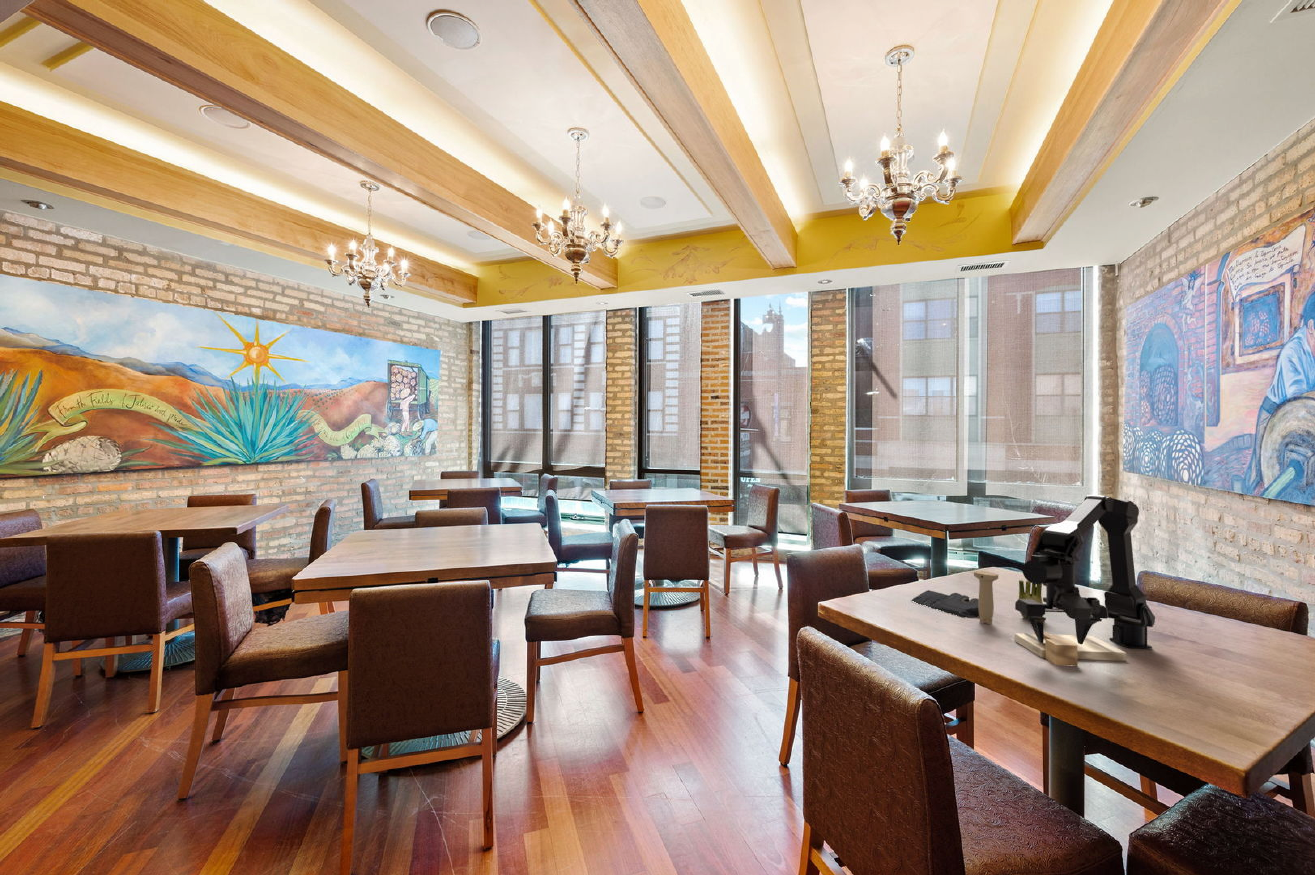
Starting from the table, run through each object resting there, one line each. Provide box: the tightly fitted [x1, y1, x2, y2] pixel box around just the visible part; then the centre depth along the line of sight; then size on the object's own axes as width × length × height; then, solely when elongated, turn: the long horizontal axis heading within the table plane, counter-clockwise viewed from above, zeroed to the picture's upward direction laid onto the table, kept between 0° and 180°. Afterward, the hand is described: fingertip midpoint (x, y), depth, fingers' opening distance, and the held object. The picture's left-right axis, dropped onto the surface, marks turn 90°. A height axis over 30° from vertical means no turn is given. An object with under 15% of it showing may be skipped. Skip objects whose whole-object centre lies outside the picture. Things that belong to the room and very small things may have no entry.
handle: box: [973, 570, 999, 625], centre depth 165 cm, size 5×6×15 cm
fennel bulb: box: [1018, 579, 1044, 619], centre depth 168 cm, size 6×5×12 cm
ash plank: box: [1014, 632, 1127, 662], centre depth 143 cm, size 20×12×2 cm, turn 86°
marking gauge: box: [1034, 630, 1078, 667], centre depth 138 cm, size 5×11×5 cm, turn 176°
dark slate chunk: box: [910, 589, 980, 619], centre depth 181 cm, size 15×22×5 cm
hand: (1060, 643), depth 135 cm, fingers open, 9 cm apart
